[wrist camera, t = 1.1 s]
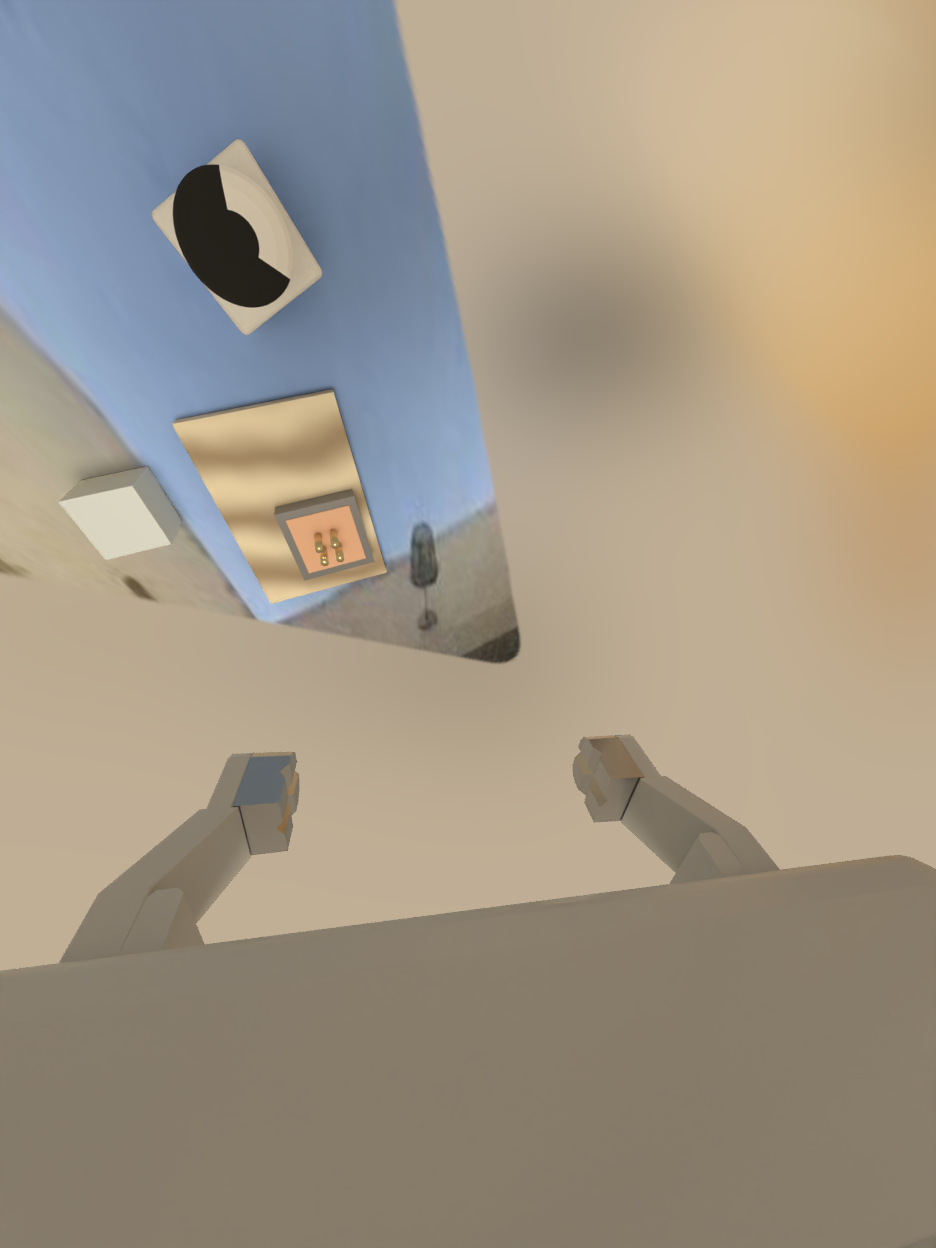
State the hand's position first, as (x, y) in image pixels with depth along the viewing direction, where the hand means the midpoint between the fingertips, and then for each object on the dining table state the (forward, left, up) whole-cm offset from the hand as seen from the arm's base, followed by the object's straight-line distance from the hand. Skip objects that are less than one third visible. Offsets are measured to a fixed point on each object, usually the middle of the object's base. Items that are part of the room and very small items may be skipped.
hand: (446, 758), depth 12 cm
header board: (+7, -7, -40) cm, 41 cm away
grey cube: (+3, -21, -40) cm, 45 cm away
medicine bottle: (-13, -3, -40) cm, 42 cm away
